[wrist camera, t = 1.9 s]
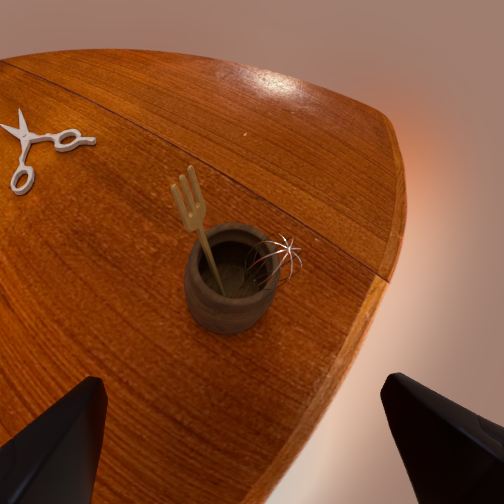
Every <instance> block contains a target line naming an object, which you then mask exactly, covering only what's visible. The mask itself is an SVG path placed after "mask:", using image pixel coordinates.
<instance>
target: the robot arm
mask: <svg viewBox="0 0 504 504" xmlns="http://www.w3.org/2000/svg"><path fill="white" fill-rule="evenodd" d="M380 396H381V400H382V404H383V407H384V410H385V414H386V417H387V420H388V424H389V427H390V430H391V433H392V436H393V438H394V441H395V443H396V446H397V448H398V451H399V453H400V456H401V458H402V460H403V463H404V466H405V468H406V470H407V474H408V476H409V479H410V481H411V484H412V487H413V490H414V492H415V495H416V497H417V501H418V503H419V504H504V427H502V426H500V425H498V424H495V423H493V422H491V421H489V420H487V419H485V418H483V417H481V416H479V415H477V414H475V413H473V412H472V411H470V410H468V409H466V408H464V407H462V406H460V405H458V404H457V403H454V402H453V401H451V400H449V399H447V398H445V397H444V396H442V395H440V394H438V393H436V392H435V391H433V390H431V389H429V388H427V387H425V386H424V385H422V384H420V383H418V382H416V381H415V380H413V379H411V378H409V377H407V376H406V375H404V374H402V373H393V374H390V375H389V376H388V377H387V379H386V381H385V383H384V385H383V388H382V389H381V392H380ZM107 405H108V397H107V394H106V391H105V387H104V384H103V381H102V379H101V378H98V377H92V376H88V377H86V378H85V379H84V380H83V381H81V382H80V383H79V384H78V385H77V386H75V387H74V388H73V389H72V390H70V391H69V392H68V393H67V394H65V395H64V396H63V397H62V398H61V399H59V400H58V401H57V402H56V403H54V404H53V405H52V406H51V407H50V408H48V409H47V410H46V411H45V412H43V413H42V414H41V415H40V416H39V417H37V418H36V419H35V420H34V421H32V422H31V423H30V424H29V425H28V426H26V427H25V428H24V429H23V430H21V431H20V432H19V433H18V434H17V435H15V436H14V437H13V439H10V440H9V441H8V442H7V443H6V444H4V445H3V446H2V447H1V448H0V504H91V498H92V493H93V487H94V482H95V477H96V472H97V467H98V463H99V458H100V454H101V449H102V444H103V436H104V427H105V419H106V412H107Z"/></svg>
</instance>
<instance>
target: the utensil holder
mask: <svg viewBox="0 0 504 504" xmlns="http://www.w3.org/2000/svg"><path fill="white" fill-rule="evenodd" d="M187 170H188V174H189V178H190V182H191V185H192V189H193V193H194V196H195V200H196V204H195V203H194V200H193V197H192V194H191V191H190V188H189V185H188V183H187V180H186V177H185V175H181V176H180V178H179V180H180V184H181V187H182V190H183V193H184V196H185V200H186V203H187V206H188V209H189V213H187V210H186V208H185V205H184V203H183V200H182V197H181V195H180V192H179V190H178V187H177V185H175V184H173V185H172V186H171V191H172V194H173V197H174V200H175V203H176V205H177V208H178V211H179V214H180V216H181V219H182V222H183V225H184V227H185V230H187V231H189V232H192V231H194V230H196V232H197V235H198V237H199V238H198V240H197V241H196V242H195V244H194V246H193V248H192V251H191V253H190V256H189V260H188V263H187V266H186V270H185V276H184V287H185V294H186V299H187V304H188V307H189V309H190V312H191V314H192V315H193V317H194V318H195V319H196V321H197V322H198V323H199V324H200V325H201V326H203V327H204V328H206V329H207V330H209V331H211V332H214V333H217V334H223V335H231V334H237V333H240V332H243V331H245V330H247V329H249V328H250V327H252V326H253V325H254V324H255V323H256V322H257V321H258V320H259V319H260V318H261V317H262V316H263V314H264V313H265V312H266V311H267V309H268V308H269V306H270V305H271V303H272V301H273V299H274V296H275V293H276V289H277V288H278V287H280V286H282V285H283V284H284V283H286V282H287V281H288V280H289V278H291V277H292V276H294V275H295V274H296V273H298V272H299V271H300V270H301V268H302V262H301V260H300V258H299V257H298V255H299V254H300V253H301V252H302V249H301V248H291V245H292V243H293V237H290V238H292V243H291V245H290V247H289V246H288V244H287V242H286V241H287V240H288V239H290V238H288V239H287V240H285V239H284V237H283V236H282V235H280V234H278V233H273V234H278V235H280V236H281V237H282V238H283V239H284V240H285V241H284V242H283V243H282V244H284V243H285V242H286V244H287V247H288V248H287V247H285V246H283V245H282V244H279V243H276V242H272V241H271V240H270V239H269V237H270V236H271V235H273V234H271V235H270V236H269V237H267V236H266V235H265V234H263V233H262V232H261V231H259V230H258V229H256V228H254V227H252V226H249V225H246V224H241V223H225V224H220V225H217V226H214V227H212V228H210V229H209V230H207V231H206V232H204V229H203V226H202V222H203V219H204V216H205V214H206V206H205V203H204V200H203V197H202V193H201V190H200V187H199V184H198V181H197V177H196V174H195V171H194V168H193V166H189V167H188V169H187ZM273 243H276V244H279V245H280V246H283V247H285V248H287V249H286V250H282V251H287V250H288V251H287V253H286V255H287V254H288V252H289V253H290V257H291V252H292V253H294V252H293V251H291V250H292V249H301V252H300V253H299V254H298V255H296V254H295V253H294V254H295V255H296V256H295V257H298V259H299V260H300V263H301V268H300V270H299V271H298V272H296V273H295V274H293V275H292V276H291V272H292V260H293V259H294V258H295V257H294V258H292V257H291V260H290V261H291V272H290V276H289V278H287V279H284V280H287V281H285V282H284V283H283V284H281V285H280V286H278V287H277V284H278V282H280V281H284V280H280V281H278V280H279V275H280V267H282V266H283V265H285V264H287V263H288V262H290V261H288V262H287V263H285V264H283V265H282V266H280V265H281V263H282V262H283V260H284V259H285V257H286V255H285V257H284V258H283V260H282V261H281V263H280V259H279V255H278V253H279V252H282V251H278V252H277V249H278V248H279V247H280V246H279V247H278V248H277V249H276V248H275V246H274V245H273ZM290 248H291V249H290ZM290 251H291V252H290Z"/></svg>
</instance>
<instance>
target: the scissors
mask: <svg viewBox="0 0 504 504" xmlns="http://www.w3.org/2000/svg"><path fill="white" fill-rule="evenodd" d="M19 122H20V130H19V129H16V128H12V127H9V126H5V125H1V124H0V125H1V126H2V127H3V128H4V129H6V130H7V131H8V132H10V133H11V134H12V135H14V136H15V137H17V138H19V139H20V140H21V144H22V154H21V156H20V158H19V161H20V166H19V167H18V169H17V171H16V172H15V174H14V175H13V178H12V181H11V188H12V190H13V191H14V193H15V194H17V195H21V194H24V193H26V192H27V191H28V190H29V189H30V188H31V186H32V184H33V182H34V170H33V168H32V167H30V166H25V165H24V163H25V158H26V155H27V153H28V151H29V148H30V146H31V143H35V142H41V141H47V140H49V141H53V142H55V146H54V147H55V149H56V151H60V152H64V151H70V150H72V149H74V148H76V147H77V146H78V145H80V144H89V145H95V144H96V138H95V137H82V136H81V134H80V132H79V131H78V130H76V129H70V130H66V131H63V132H61V133H59V134H55V135H51V134H50V133H48V134H46V135H42V136H38V135H36V134H34V133H29V132H28V129H27V125H26V123H25V120H24V118H23V116H22V113H21V110H20V109H19ZM67 136H75V137H76V139H75V141H73V142H72V143H70V144H68V145H62V144H60V142H61V140H63V139H64V138H65V137H67ZM24 173H26V174H28V175H29V176H28V181H27V183H26V184H25V185H23V186H22V187H21V188H15V186H16V183H17V180H18V178H19V177H20V176H21V175H22V174H24Z"/></svg>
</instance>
